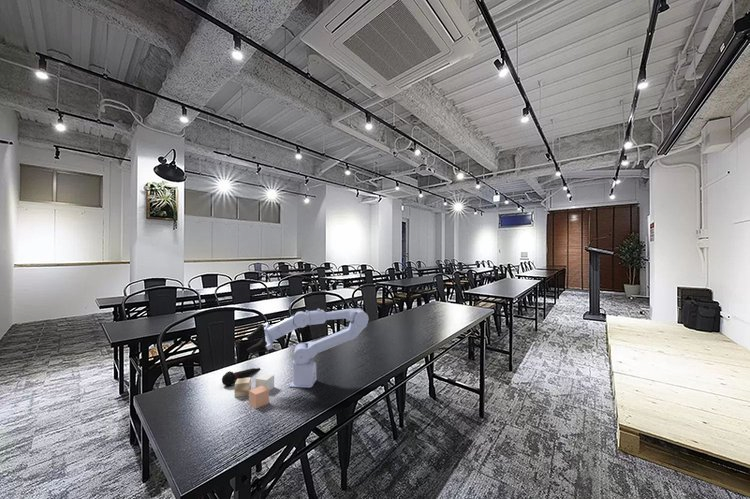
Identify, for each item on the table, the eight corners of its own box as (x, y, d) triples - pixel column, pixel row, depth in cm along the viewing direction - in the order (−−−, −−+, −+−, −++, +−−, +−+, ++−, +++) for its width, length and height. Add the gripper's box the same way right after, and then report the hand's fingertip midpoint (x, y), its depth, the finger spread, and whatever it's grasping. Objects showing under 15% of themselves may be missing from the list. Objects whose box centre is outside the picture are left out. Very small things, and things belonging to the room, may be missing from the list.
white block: (274, 387, 117) (274, 374, 117) (266, 393, 112) (266, 380, 112) (263, 385, 118) (263, 373, 118) (255, 391, 113) (255, 378, 113)
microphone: (256, 376, 135) (219, 389, 117) (254, 363, 136) (217, 374, 118) (265, 374, 133) (229, 386, 115) (263, 361, 135) (227, 372, 116)
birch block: (250, 389, 114) (250, 377, 115) (248, 395, 110) (248, 382, 110) (237, 391, 113) (237, 378, 113) (234, 397, 108) (234, 384, 108)
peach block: (261, 398, 107) (261, 385, 107) (268, 403, 104) (268, 389, 104) (248, 404, 103) (248, 390, 103) (255, 409, 100) (255, 394, 100)
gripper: (274, 312, 122) (243, 327, 119) (278, 334, 110) (243, 351, 107) (281, 323, 126) (251, 338, 123) (285, 345, 114) (252, 362, 111)
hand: (248, 345), depth 115 cm, fingers open, 7 cm apart
